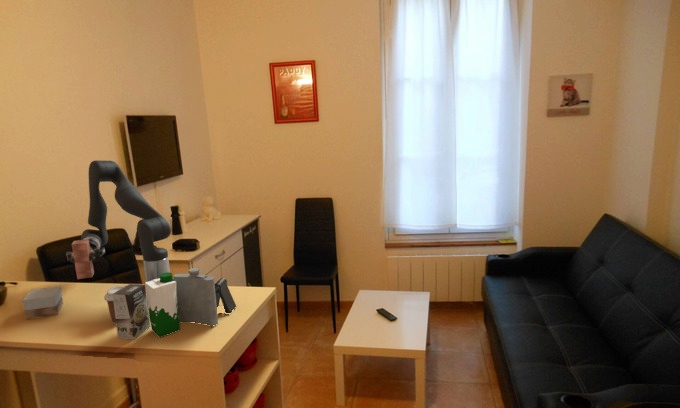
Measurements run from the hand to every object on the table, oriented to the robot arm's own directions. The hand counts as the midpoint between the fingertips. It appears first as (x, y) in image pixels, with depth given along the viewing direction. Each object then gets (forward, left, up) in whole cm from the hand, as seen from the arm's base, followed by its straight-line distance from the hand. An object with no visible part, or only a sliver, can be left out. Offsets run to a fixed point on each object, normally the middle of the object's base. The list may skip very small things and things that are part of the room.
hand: (81, 259), depth 165 cm
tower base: (+15, -3, -20) cm, 25 cm away
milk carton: (-28, +32, -20) cm, 47 cm away
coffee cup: (-13, +17, -20) cm, 29 cm away
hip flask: (-39, +30, -20) cm, 53 cm away
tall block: (0, -3, -8) cm, 8 cm away
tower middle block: (+15, -3, -16) cm, 22 cm away
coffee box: (-18, +29, -20) cm, 40 cm away
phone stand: (-48, +24, -20) cm, 57 cm away
